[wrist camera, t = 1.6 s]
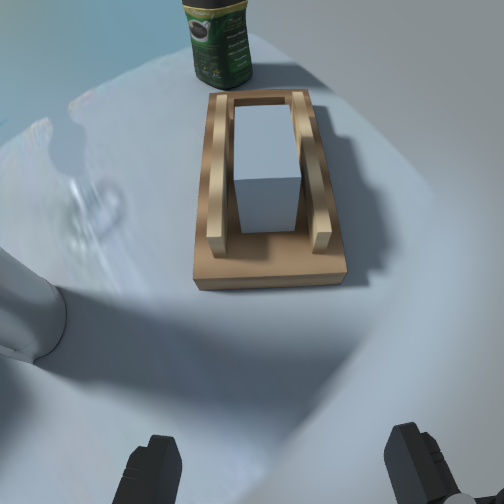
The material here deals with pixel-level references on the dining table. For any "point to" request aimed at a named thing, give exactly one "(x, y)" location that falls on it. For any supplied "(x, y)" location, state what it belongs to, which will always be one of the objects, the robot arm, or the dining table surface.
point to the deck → (265, 243)
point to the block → (266, 168)
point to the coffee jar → (219, 41)
